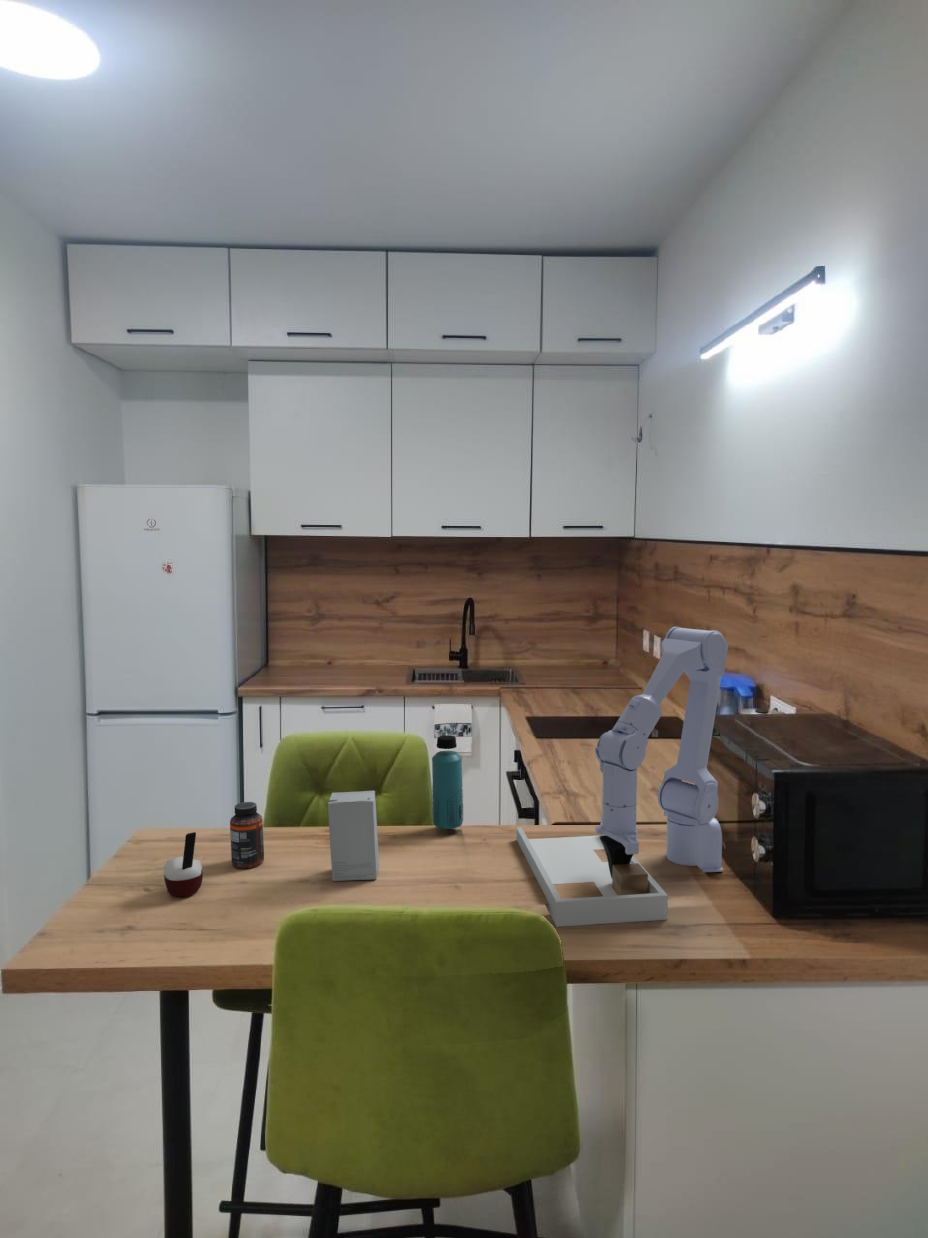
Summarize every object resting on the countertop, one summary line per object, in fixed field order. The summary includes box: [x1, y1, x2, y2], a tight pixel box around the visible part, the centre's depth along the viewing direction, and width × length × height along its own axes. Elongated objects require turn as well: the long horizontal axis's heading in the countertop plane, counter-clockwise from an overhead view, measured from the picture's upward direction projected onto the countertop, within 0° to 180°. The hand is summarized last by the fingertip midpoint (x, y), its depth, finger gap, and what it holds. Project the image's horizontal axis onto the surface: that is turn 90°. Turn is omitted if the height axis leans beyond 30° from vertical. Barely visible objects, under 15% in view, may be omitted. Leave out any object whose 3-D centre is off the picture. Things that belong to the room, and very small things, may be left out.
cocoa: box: [163, 831, 204, 899], centre depth 136 cm, size 10×6×12 cm, turn 16°
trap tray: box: [516, 822, 669, 928], centre depth 141 cm, size 18×33×4 cm, turn 7°
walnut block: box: [612, 863, 648, 896], centre depth 132 cm, size 4×4×4 cm
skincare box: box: [327, 790, 380, 882], centre depth 143 cm, size 8×6×15 cm
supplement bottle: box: [229, 801, 265, 869], centre depth 149 cm, size 6×6×11 cm
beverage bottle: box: [431, 735, 464, 830], centre depth 165 cm, size 6×7×20 cm
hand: (618, 879), depth 136 cm, fingers closed
